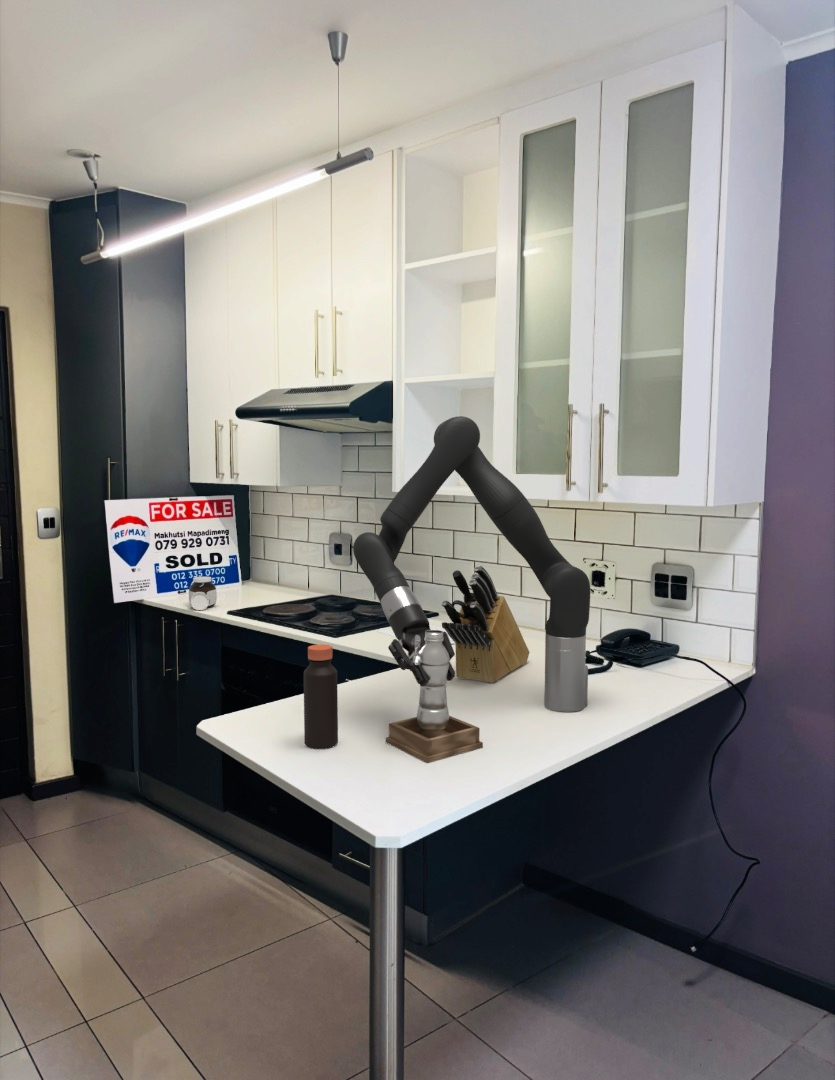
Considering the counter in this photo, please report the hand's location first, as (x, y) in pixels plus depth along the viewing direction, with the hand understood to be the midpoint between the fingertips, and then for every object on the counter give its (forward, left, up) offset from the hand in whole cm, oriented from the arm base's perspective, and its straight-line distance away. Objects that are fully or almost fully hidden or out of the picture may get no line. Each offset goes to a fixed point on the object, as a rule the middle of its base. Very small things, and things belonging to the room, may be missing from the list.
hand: (438, 681), depth 160 cm
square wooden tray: (0, -1, -13) cm, 14 cm away
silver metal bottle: (0, -2, -10) cm, 11 cm away
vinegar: (+18, -16, -14) cm, 27 cm away
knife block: (-44, -35, -14) cm, 58 cm away
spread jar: (-20, -174, -14) cm, 175 cm away
